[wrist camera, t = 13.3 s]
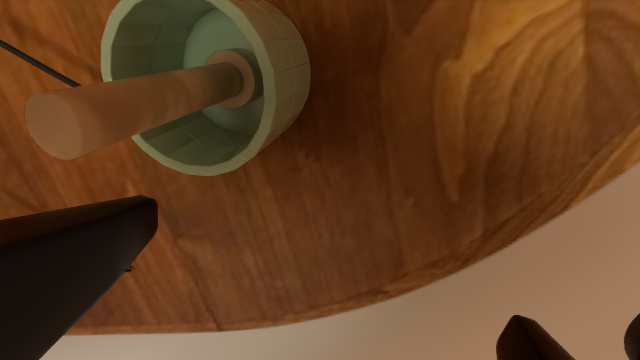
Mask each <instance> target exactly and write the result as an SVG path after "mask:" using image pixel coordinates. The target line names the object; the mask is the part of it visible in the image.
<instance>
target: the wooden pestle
mask: <svg viewBox="0 0 640 360" xmlns="http://www.w3.org/2000/svg"><path fill="white" fill-rule="evenodd" d="M263 90H264V86H263V75H262V72H261V69H260V66H259V64H258V61H257V58H256V56H255V55H254V54H253V53H251V52H250V51H248V50H245V49H241V48H234V49H223V50H218V51H216V52H214V53H212V54H211V55H210V56H209V57H208V58H207V60H206V62H205V64H204V66H198V67H192V68H186V69H180V70H174V71H168V72H162V73H156V74H150V75H144V76H138V77H132V78H126V79H120V80H114V81H108V82H102V83H96V84H90V85H84V86H78V87H72V88H66V89H60V90H54V91H48V92H42V93H38V94H35V95H33V96H32V97H31V98H30V99H29V100H28V101H27V103H26V106H25V111H24V116H25V122H26V125H27V128H28V131H29V133H30V134H31V136H32V138H33V139H34V141H35V142H36V143H37V144H38V145H39V146H40V147H41V148H42V149H43V150H44V151H45V152H47V153H48V154H50V155H51V156H53V157H56V158H59V159H64V160H71V159H75V158H77V157H80V156H82V155H85V154H87V153H90V152H93V151H95V150H98V149H100V148H103V147H106V146H108V145H111V144H113V143H116V142H119V141H121V140H124V139H126V138H129V137H132V136H134V135H137V134H139V133H142V132H145V131H147V130H150V129H152V128H155V127H158V126H160V125H163V124H165V123H168V122H171V121H173V120H176V119H178V118H181V117H183V116H186V115H189V114H191V113H194V112H196V111H199V110H202V109H204V108H207V107H209V106H212V105H215V104H219V105H221V106H223V107H226V108H239V107H242V106H244V105H246V104H248V103H250V102H253V101H254V100H256V99H257V98H258V97H259V96H260V95H261V93H262V92H263Z"/></svg>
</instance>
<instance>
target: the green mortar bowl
mask: <svg viewBox="0 0 640 360" xmlns="http://www.w3.org/2000/svg"><path fill="white" fill-rule="evenodd" d="M101 41H102V42H101V74H102V78H103V82H108V81H114V80H120V79H126V78H132V77H138V76H144V75H150V74H156V73H162V72H168V71H174V70H180V69H186V68H192V67H198V66H204V64H205V62H206V60H207V58H208V57H209V56H210V55H211V54H212V53H214V52H216V51H218V50H223V49H234V48H241V49H245V50H248V51H250V52H251V53H253V54H254V55H255V56H256V58H257V61H258V64H259V66H260V69H261V72H262V75H263V86H264V90H263V92H262V93H261V95H260V96H259V97H258V98H257V99H256V100H254V101H253V102H250V103H248V104H246V105H244V106H242V107H239V108H226V107H223V106H221V105H219V104H215V105H212V106H209V107H207V108H204V109H202V110H199V111H196V112H194V113H191V114H189V115H186V116H183V117H181V118H178V119H176V120H173V121H171V122H168V123H165V124H163V125H160V126H158V127H155V128H152V129H150V130H147V131H145V132H142V133H139V134H137V135H134V136H132V137H131V138H132V139H133V140H134V141H135V143H136V144H137V145H138V146H139V147H140V148H141V149H142V150H143V151H145V152H146V153H147V154H149V155H150V156H152V157H153V158H154V159H156V160H157V161H158V162H160V163H161V164H163V165H165V166H167V167H170V168H172V169H175V170H177V171H180V172H182V173H185V174H191V175H203V176H215V175H219V174H222V173H226V172H230V171H234V170H236V169H237V168H239V167H240V166H242V165H243V164H244V163H246V162H247V161H249V160H250V159H252V158H253V157H254V156H255V155H257V154H258V153H259V152H260V151H261V150H263V149H264V148H265V147H266V146H267V145H269V144H270V143H271V142H272V141H273V140H274V139H276V138H277V137H278V136H279V135H280V134H282V133H283V132H284V131H285V130H286V129H288V128H289V127H290V126H291V125H292V123H293V122H294V121H295V120H296V119H297V117H298V116H299V115H300V113H301V111H302V110H303V108H304V106H305V103H306V101H307V98H308V94H309V90H310V82H311V68H310V60H309V56H308V52H307V49H306V46H305V43H304V41H303V39H302V37H301V35H300V33H299V31H298V30H297V28H296V27H295V25H294V24H293V22H292V21H291V20H290V19H289V18H288V17H287V16H286V15H285V14H284V13H283V12H282V11H281V10H280V9H278V8H277V7H276V6H274V5H273V4H271V3H269V2H267V1H265V0H121V1H120V2H119V3H118V4H117V6H116V7H115V8H114V9H113V11H112V12H111V14H110V15H109V18H108V21H107V24H106V27H105V30H104V33H103V36H102V39H101Z"/></svg>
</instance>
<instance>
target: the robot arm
mask: <svg viewBox="0 0 640 360" xmlns="http://www.w3.org/2000/svg"><path fill="white" fill-rule="evenodd" d="M157 228H158V204H157V201H156V200H155V199H152V198H149V197H146V196H142V195H139V196H133V197H127V198H122V199H116V200H111V201H105V202H99V203H94V204H88V205H82V206H77V207H71V208H65V209H60V210H54V211H49V212H43V213H37V214H32V215H26V216H20V217H15V218H9V219H3V220H0V360H39V359H40V358H41V357H42V356H43V355H44V354H45V353H46V352H47V351H48V350H49V349H50V348H51V347H52V346H53V345H54V344H55V343H56V342H57V341H58V340H59V339H60V338H61V337H62V336H63V335H64V334H65V333H66V332H67V331H68V330H69V329H70V328H71V327H72V326H73V325H74V324H75V323H76V322H77V321H78V320H79V319H80V318H81V317H82V316H83V315H84V314H85V313H86V312H87V311H88V310H89V309H90V308H91V307H92V306H93V305H94V304H95V303H96V302H97V301H98V300H99V299H100V298H101V297H102V296H103V295H104V294H105V293H106V292H107V291H108V290H109V289H110V288H111V286H112V285H113V284H114V283H115V282H116V281H117V280H118V279H119V278H120V277H121V275H122V274H123V273H124V272H125V271H126V270H127V268H128V267H129V266H130V265H131V263H132V262H133V261H134V260H135V258H136V257H137V256H138V255H139V254H140V252H141V251H142V250H143V249H144V247H145V246H146V245H147V244H148V243H149V241H150V240H151V239H152V238H153V236H154V235H155V233H156V231H157ZM496 353H497V360H575V359H574V358H573V357H572V356H571V355H570V354H569V353H568V352H567V351H566V350H565V349H564V348H563V347H562V346H560V344H558V342H557V341H556V340H554V338H552V337H551V336H550V335H549V334H548V333H547V332H546V331H545V330H544V329H543V328H542V327H541V326H540V325H539V324H538V323H537V322H536V321H535V320H532V319H530V318H526V317H523V316H520V315H514V316H512V318H511V319H510V320H509V322H508V323H507V325H506V327H505V328H504V330H503V332H502V333H501V335H500V337H499V339H498V341H497V345H496Z"/></svg>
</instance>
